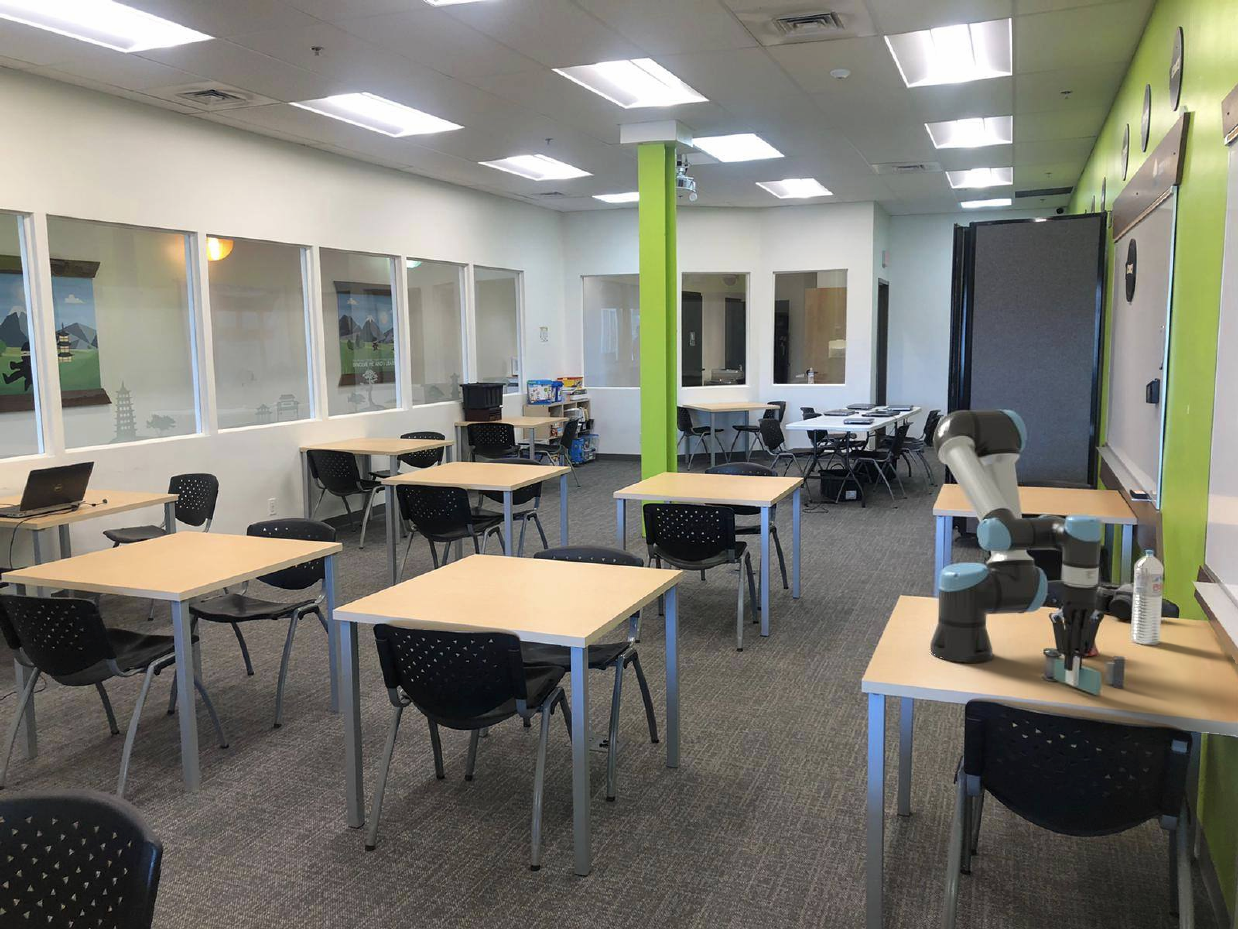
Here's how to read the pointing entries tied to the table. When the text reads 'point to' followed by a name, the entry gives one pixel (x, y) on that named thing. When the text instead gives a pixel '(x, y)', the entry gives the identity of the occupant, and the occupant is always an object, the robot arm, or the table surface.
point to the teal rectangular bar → (1086, 679)
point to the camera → (1115, 600)
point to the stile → (1115, 672)
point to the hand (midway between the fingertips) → (1071, 683)
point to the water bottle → (1147, 600)
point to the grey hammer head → (1051, 653)
